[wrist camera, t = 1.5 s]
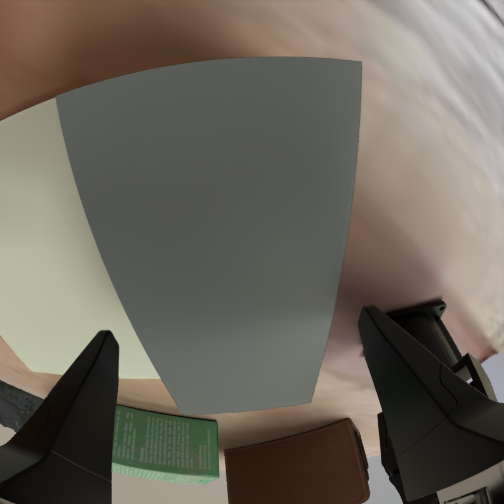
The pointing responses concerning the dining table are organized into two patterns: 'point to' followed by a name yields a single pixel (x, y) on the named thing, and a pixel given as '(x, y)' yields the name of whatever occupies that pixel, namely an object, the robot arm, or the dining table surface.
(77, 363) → the robot arm
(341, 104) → the grey rectangular block
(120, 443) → the box
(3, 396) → the dark slate chunk
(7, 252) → the pale cream mat
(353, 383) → the dining table surface
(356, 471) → the letter holder
